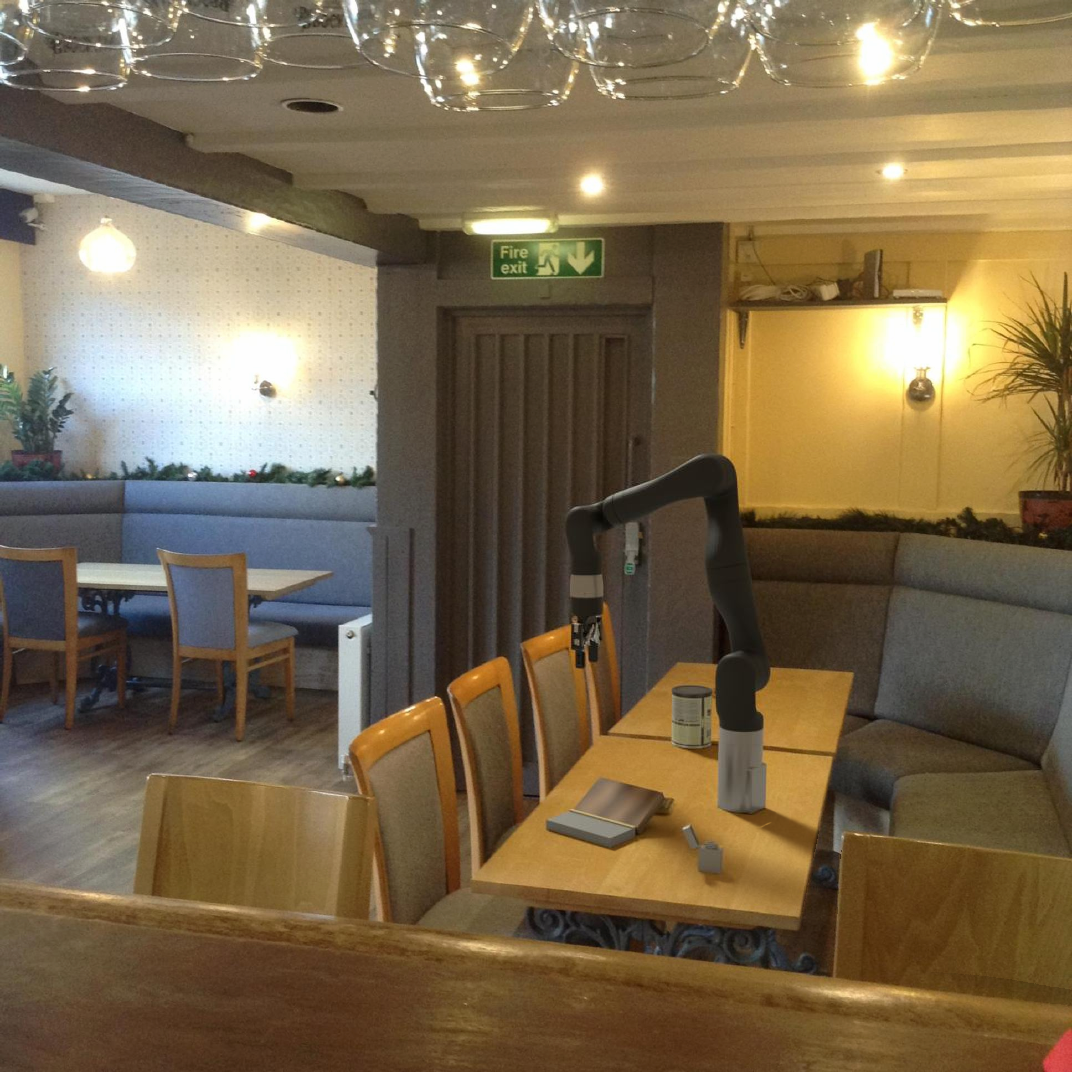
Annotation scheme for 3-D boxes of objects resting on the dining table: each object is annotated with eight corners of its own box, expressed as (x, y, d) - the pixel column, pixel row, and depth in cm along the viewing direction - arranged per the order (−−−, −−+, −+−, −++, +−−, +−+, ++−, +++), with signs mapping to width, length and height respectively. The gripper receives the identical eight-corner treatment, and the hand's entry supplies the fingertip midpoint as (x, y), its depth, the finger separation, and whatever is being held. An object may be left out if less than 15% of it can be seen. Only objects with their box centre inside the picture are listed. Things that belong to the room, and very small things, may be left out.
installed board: (635, 837, 230) (635, 826, 230) (610, 848, 224) (610, 836, 224) (571, 819, 241) (571, 808, 241) (546, 829, 235) (546, 818, 235)
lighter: (722, 870, 213) (723, 827, 213) (720, 874, 212) (721, 830, 211) (683, 865, 216) (684, 822, 215) (681, 868, 214) (682, 825, 213)
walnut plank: (665, 799, 238) (662, 792, 237) (639, 834, 231) (636, 827, 231) (602, 783, 248) (599, 776, 247) (576, 817, 242) (573, 810, 241)
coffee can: (670, 737, 306) (671, 684, 305) (710, 739, 305) (711, 685, 304) (670, 748, 296) (671, 693, 295) (712, 749, 295) (713, 694, 294)
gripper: (591, 598, 258) (592, 671, 260) (612, 591, 272) (612, 660, 273) (559, 597, 261) (560, 669, 263) (581, 589, 274) (582, 658, 276)
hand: (587, 665), depth 268 cm, fingers open, 8 cm apart
